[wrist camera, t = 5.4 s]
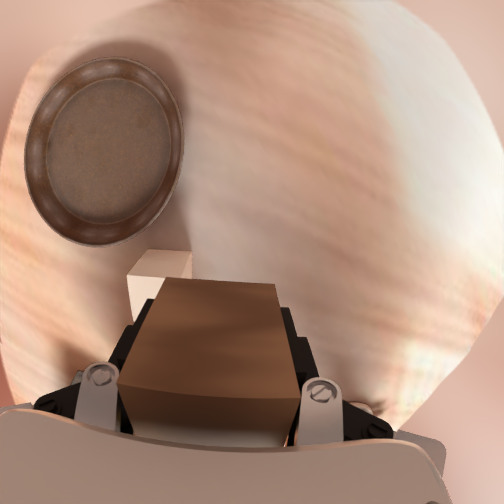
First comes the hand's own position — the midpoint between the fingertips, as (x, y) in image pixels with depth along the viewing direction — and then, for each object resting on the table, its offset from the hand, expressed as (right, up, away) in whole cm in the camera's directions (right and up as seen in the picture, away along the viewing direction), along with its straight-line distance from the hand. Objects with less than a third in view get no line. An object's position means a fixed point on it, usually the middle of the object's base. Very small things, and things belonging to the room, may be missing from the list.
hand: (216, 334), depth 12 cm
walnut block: (0, 0, +1) cm, 1 cm away
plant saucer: (-13, +13, +11) cm, 22 cm away
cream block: (-7, +2, +16) cm, 17 cm away
